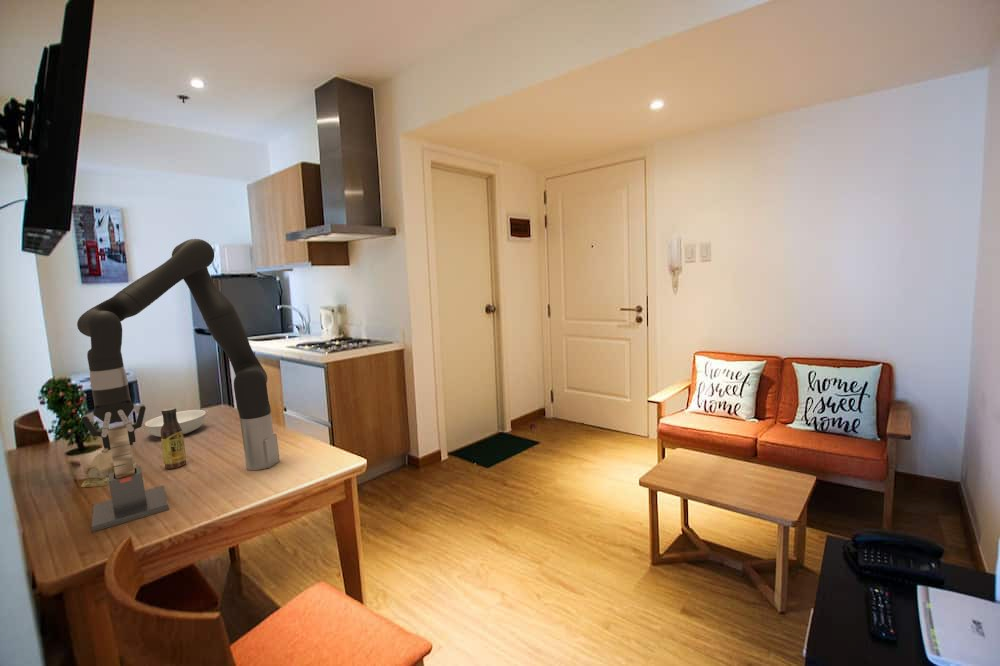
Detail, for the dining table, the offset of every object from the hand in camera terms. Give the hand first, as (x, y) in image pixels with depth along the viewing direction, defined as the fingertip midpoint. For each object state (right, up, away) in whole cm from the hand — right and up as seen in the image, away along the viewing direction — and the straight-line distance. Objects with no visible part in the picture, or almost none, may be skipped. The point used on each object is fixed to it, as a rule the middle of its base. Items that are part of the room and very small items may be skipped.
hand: (120, 446), depth 128 cm
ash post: (+1, -11, +2) cm, 11 cm away
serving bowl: (-30, -11, +68) cm, 75 cm away
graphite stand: (+1, -18, +3) cm, 18 cm away
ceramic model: (-24, -17, +25) cm, 38 cm away
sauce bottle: (-7, -15, +32) cm, 36 cm away
